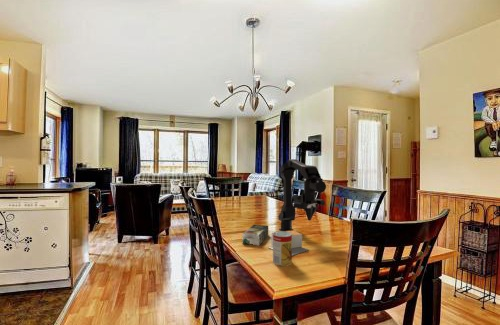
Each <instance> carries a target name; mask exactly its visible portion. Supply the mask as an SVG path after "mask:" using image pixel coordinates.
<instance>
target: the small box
mask: <svg viewBox="0 0 500 325" xmlns="http://www.w3.org/2000/svg"><path fill="white" fill-rule="evenodd" d="M285 232H290V233H291V234H292V248H296V247H303V234H302V233H300V232H298V231H295V229H294V230H292V231H285ZM273 233H274V232H271V242H270V243H271V247H272V246H273Z"/></svg>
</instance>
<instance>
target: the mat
mask: <svg viewBox="0 0 500 325" xmlns="http://www.w3.org/2000/svg"><path fill="white" fill-rule="evenodd" d="M268 249H269V250H271V249H272V251H273V246H272V245H271V246H268ZM308 251H310V250H309V248H305V247H303V246H302V247H296V248H292V257H294V256H297V255H298V254H299V255H300V254H303V253H306V252H308Z"/></svg>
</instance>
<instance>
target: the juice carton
mask: <svg viewBox="0 0 500 325" xmlns="http://www.w3.org/2000/svg"><path fill="white" fill-rule="evenodd" d="M241 235H242V237H241V238H242V239H241V241H242V243H243V244H244V245H245V244H248V245H250V244H253V246H260V245H261V244H262V243H263V242H264V241H265V240H266V238H267V237H268V236H269V226H268V225H265V224H264V225H262V224H253V225H251V226H250V227H249V228H248V229H247V230H245V231H244V232H242V234H241ZM242 243H241V244H242Z"/></svg>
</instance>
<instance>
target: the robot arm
mask: <svg viewBox="0 0 500 325" xmlns="http://www.w3.org/2000/svg"><path fill="white" fill-rule="evenodd" d="M296 171H299V172H300V174H301V176H303V178H302V179H301V181H302V182H303V191H302V192H301V194H300V195H299V194H298V193H297V194H293V193H292V192H293V189H292V188H293V185H292V180H293V178H294V176H295V172H296ZM279 173H280V177H281V178H282V182H283V186H282V188H283V205H282V206H281V209H280V213H279V214H278V216H277V217H278V220H279V221H280V228H279V231H292V230H294V231H295V229H294V228H293V221H295V220H296V215H297V214H296V209H299V210H304V213H305V216H306V218H307V220H308V221H311V220H312V218H313V217H314V215H315V213H316V211H317V209H318V208H319V207H318V206H317V205H320V206H321V207H322V206H325V203H326V202H325V200H324V199H322V198H321V199H319V198H316V195H318V193H324V192H326V190H327V185H326V183H325V181H323V180H324V179H323V178H322V177H321V174H320V172H319V170H318V168H317V166H315V165H309V164H308V165H307V164H305V163H303V162H302V161H299V160H298V159H294V158H293V159H292V158H290V159H288V160H287V161H286V162H284V163H282V164H281V166H280V168H279ZM293 201H294V203H293Z"/></svg>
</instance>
